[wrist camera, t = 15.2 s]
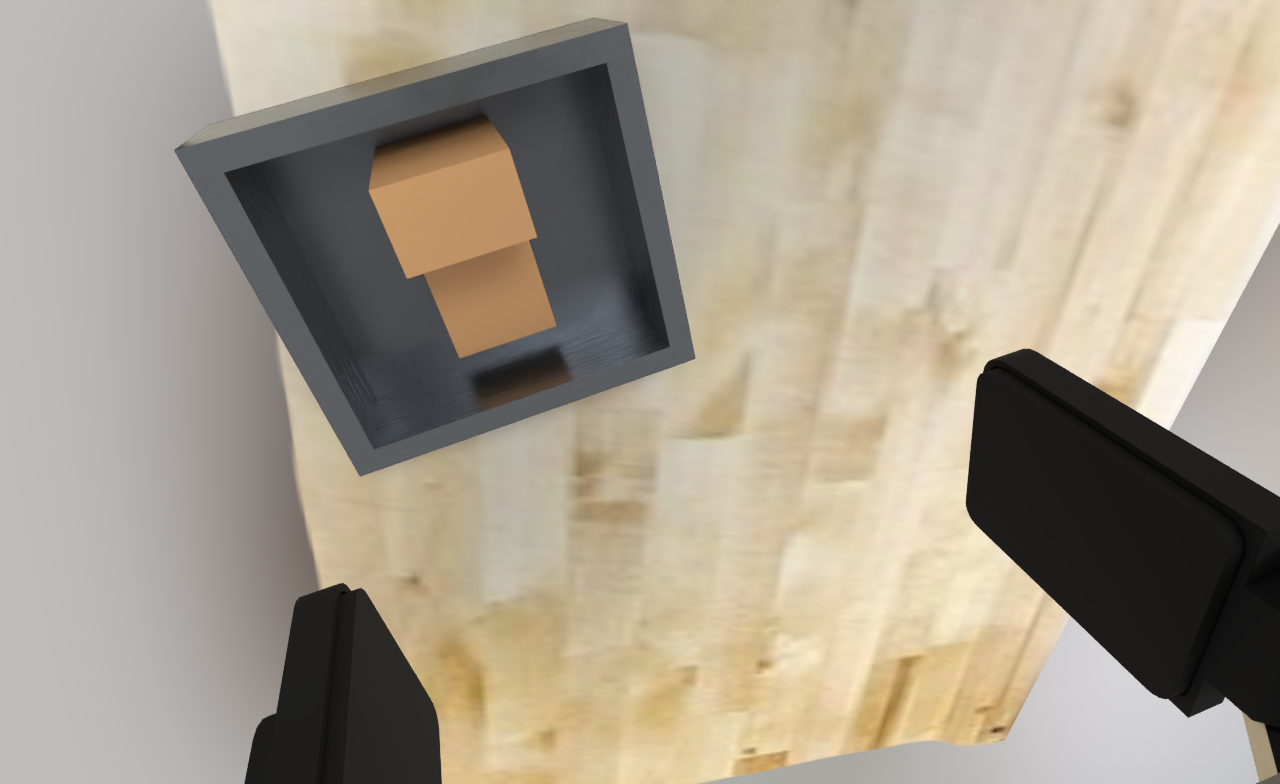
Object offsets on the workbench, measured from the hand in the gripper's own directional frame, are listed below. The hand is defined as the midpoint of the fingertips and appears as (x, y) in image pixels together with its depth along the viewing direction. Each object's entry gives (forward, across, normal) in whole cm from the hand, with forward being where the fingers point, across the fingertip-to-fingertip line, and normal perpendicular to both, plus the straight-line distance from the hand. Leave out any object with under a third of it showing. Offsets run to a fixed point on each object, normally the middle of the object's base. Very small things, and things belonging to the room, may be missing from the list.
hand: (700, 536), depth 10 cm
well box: (+24, +2, +2) cm, 24 cm away
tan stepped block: (+23, +2, +2) cm, 23 cm away
